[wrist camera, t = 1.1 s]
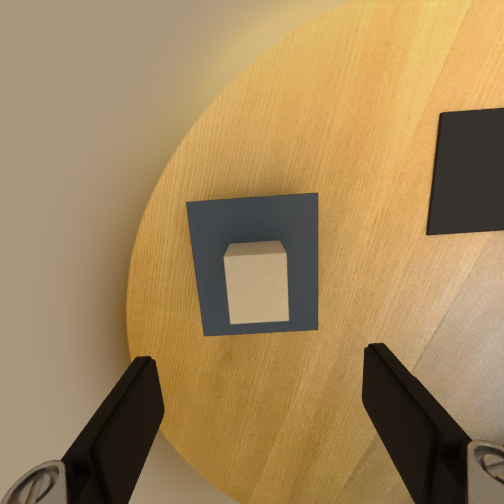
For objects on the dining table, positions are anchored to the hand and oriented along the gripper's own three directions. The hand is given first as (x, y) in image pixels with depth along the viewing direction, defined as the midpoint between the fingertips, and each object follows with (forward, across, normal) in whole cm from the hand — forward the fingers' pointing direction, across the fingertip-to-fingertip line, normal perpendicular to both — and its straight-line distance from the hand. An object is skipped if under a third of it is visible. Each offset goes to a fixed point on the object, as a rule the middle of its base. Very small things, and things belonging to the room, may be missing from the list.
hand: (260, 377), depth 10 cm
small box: (+14, 0, 0) cm, 14 cm away
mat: (+21, -27, -8) cm, 35 cm away
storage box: (+21, 0, 0) cm, 21 cm away
